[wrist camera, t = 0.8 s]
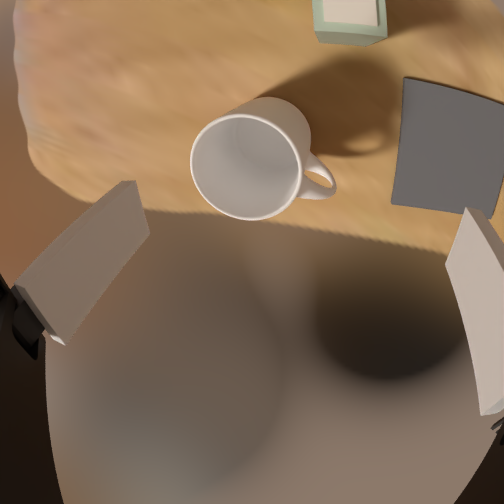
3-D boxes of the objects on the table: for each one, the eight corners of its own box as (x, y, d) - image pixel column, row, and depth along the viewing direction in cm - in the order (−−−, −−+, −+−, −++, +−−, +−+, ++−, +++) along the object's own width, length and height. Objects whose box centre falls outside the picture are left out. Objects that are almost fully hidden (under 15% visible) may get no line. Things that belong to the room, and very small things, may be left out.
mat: (403, 77, 21) (404, 78, 21) (512, 108, 18) (515, 109, 18) (390, 201, 30) (391, 204, 29) (489, 216, 26) (490, 219, 26)
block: (316, 3, 19) (308, -31, 10) (363, 6, 18) (383, -25, 9) (319, 43, 22) (314, 30, 13) (366, 46, 21) (388, 37, 12)
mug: (316, 198, 32) (307, 256, 24) (220, 150, 31) (177, 191, 23) (355, 136, 27) (367, 174, 18) (250, 82, 26) (210, 94, 18)
